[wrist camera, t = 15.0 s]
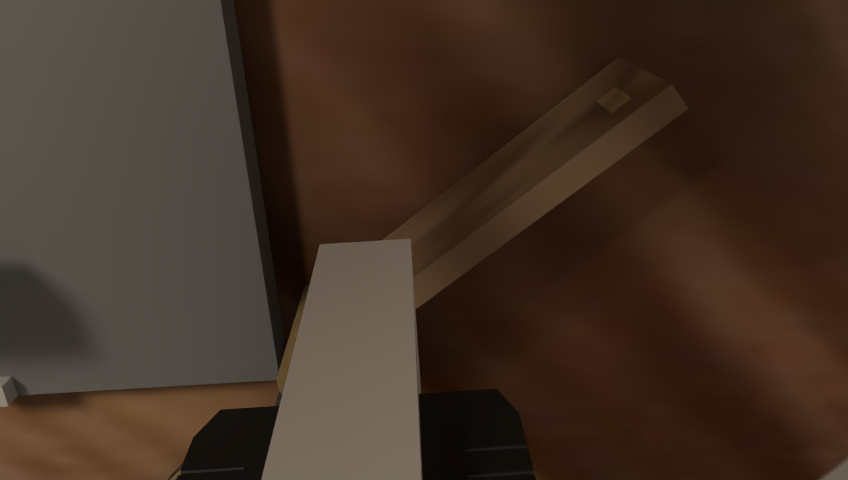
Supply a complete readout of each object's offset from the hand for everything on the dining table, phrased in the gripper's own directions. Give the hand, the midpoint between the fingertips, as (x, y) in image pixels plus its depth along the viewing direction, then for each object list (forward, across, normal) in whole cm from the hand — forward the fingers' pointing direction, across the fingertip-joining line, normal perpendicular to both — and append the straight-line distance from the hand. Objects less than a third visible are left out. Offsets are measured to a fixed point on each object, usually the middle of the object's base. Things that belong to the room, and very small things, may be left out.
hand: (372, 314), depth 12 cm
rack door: (+18, +3, -4) cm, 18 cm away
